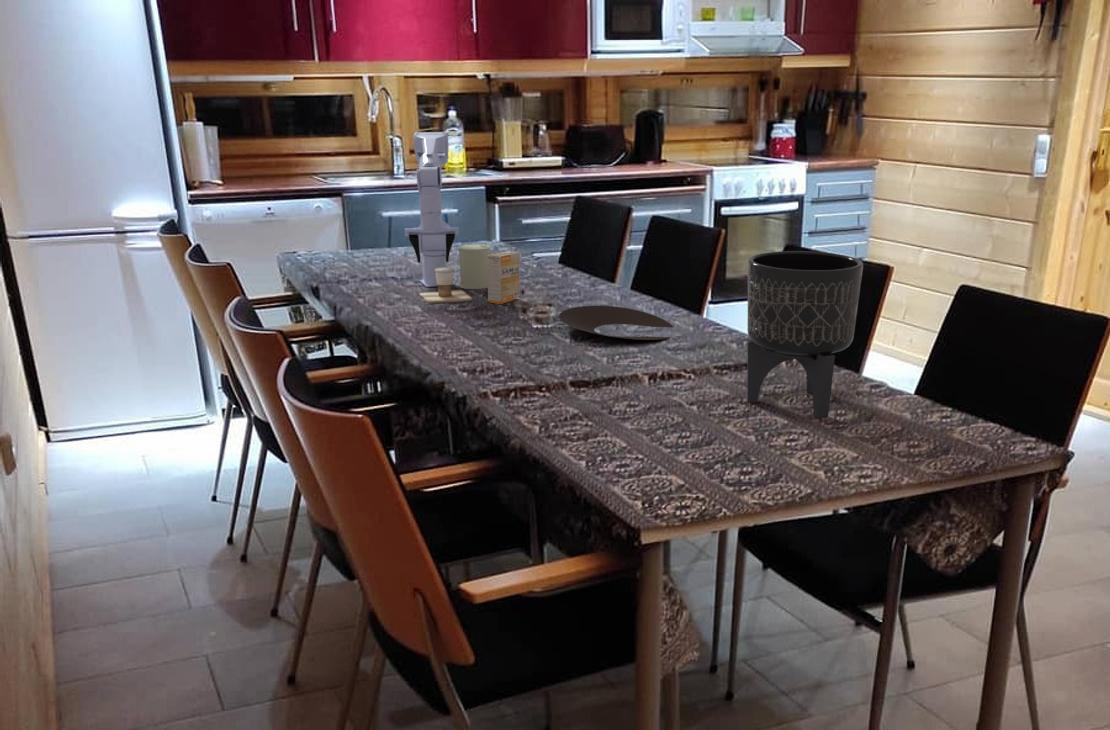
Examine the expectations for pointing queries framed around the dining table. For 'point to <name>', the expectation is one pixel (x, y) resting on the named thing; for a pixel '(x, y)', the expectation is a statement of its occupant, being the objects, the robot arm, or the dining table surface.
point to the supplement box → (503, 277)
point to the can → (474, 266)
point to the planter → (800, 316)
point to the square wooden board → (445, 295)
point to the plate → (610, 319)
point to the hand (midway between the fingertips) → (433, 261)
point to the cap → (444, 276)
